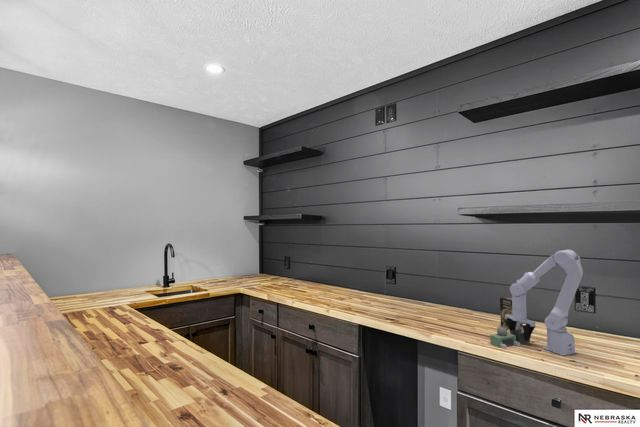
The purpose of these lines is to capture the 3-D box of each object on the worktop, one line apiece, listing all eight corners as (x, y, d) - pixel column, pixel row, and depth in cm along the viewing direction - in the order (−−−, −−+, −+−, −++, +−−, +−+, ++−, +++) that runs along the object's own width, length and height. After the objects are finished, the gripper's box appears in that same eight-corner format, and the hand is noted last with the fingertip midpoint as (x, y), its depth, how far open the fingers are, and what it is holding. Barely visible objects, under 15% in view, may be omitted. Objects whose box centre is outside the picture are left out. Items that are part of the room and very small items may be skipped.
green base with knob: (520, 346, 154) (520, 330, 154) (504, 349, 151) (503, 333, 151) (506, 341, 161) (506, 326, 161) (490, 343, 158) (489, 328, 158)
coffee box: (500, 327, 182) (499, 297, 183) (509, 326, 185) (508, 296, 185) (515, 332, 174) (514, 300, 174) (524, 330, 176) (523, 299, 177)
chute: (520, 339, 163) (520, 328, 163) (530, 342, 159) (529, 331, 159) (511, 341, 161) (510, 330, 161) (520, 344, 157) (520, 333, 157)
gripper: (500, 306, 166) (500, 334, 166) (526, 313, 152) (527, 343, 152) (510, 304, 168) (511, 332, 168) (538, 311, 155) (539, 342, 154)
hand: (520, 337), depth 160 cm, fingers open, 7 cm apart
